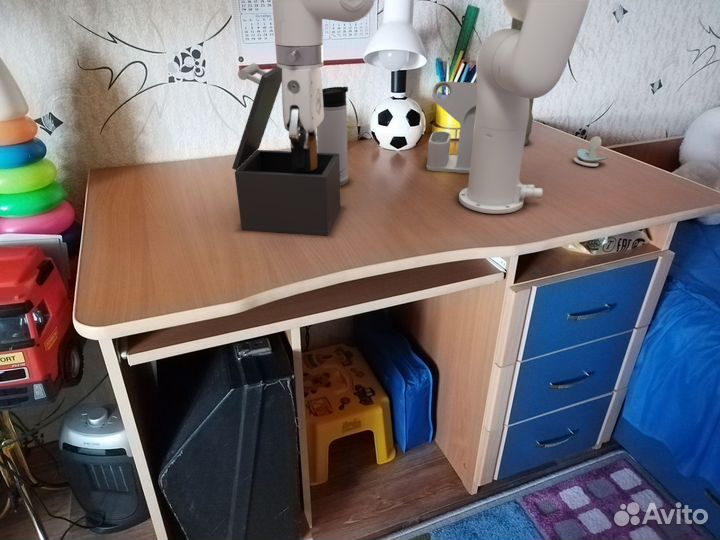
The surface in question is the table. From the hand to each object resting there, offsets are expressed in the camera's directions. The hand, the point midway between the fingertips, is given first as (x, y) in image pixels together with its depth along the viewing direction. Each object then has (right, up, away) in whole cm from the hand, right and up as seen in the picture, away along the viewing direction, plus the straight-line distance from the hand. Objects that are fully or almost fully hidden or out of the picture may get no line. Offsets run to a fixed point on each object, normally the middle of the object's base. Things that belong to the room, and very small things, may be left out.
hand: (305, 164), depth 95 cm
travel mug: (+4, 0, +22) cm, 22 cm away
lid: (-7, +8, -3) cm, 11 cm away
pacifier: (+64, +7, +32) cm, 72 cm away
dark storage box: (-3, -9, +6) cm, 11 cm away
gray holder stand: (+34, +6, +31) cm, 46 cm away
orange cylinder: (0, 0, 0) cm, 0 cm away
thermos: (+50, +15, +47) cm, 70 cm away
